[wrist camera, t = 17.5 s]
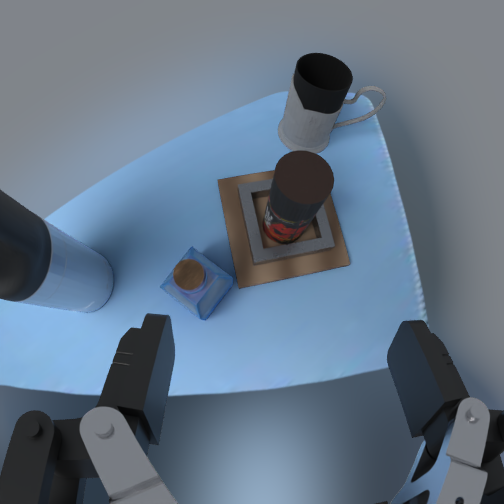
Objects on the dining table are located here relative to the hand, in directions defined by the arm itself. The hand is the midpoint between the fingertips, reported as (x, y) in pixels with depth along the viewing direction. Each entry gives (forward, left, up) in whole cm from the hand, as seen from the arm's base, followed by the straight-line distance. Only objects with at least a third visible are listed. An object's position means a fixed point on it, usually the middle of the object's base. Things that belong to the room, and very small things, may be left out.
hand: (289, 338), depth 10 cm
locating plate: (+8, +14, -33) cm, 36 cm away
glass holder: (+18, +28, -33) cm, 47 cm away
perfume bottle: (-5, +7, -33) cm, 34 cm away
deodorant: (+8, +13, -32) cm, 35 cm away
